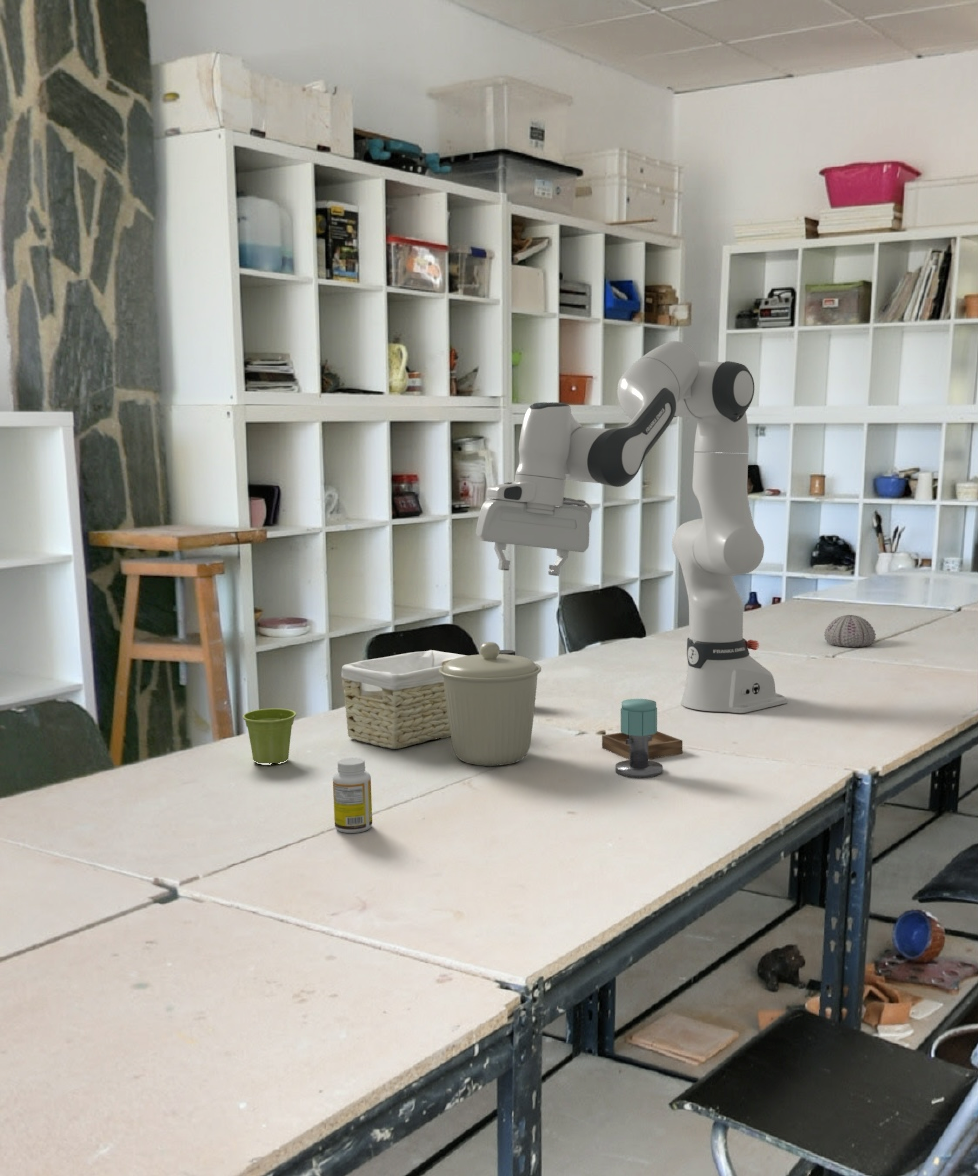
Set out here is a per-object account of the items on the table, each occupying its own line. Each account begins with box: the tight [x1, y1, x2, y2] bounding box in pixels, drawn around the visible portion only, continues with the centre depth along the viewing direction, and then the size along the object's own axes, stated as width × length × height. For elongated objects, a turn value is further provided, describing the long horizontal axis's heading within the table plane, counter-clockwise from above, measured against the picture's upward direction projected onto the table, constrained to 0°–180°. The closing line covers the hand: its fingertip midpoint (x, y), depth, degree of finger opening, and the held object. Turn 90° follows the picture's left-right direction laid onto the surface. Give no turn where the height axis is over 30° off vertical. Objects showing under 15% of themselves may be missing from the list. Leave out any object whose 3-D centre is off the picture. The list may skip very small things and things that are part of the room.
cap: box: [620, 698, 658, 736], centre depth 203 cm, size 6×6×5 cm
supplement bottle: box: [332, 757, 373, 834], centre depth 176 cm, size 6×6×10 cm
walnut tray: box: [601, 730, 683, 760], centre depth 217 cm, size 10×10×2 cm
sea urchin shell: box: [823, 614, 877, 648], centre depth 321 cm, size 13×14×8 cm
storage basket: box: [341, 649, 467, 750], centre depth 231 cm, size 24×16×15 cm
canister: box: [439, 641, 542, 767], centre depth 212 cm, size 18×18×21 cm
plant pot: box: [242, 708, 297, 764], centre depth 214 cm, size 9×9×9 cm
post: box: [614, 735, 664, 779], centre depth 203 cm, size 8×8×11 cm
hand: (528, 572), depth 210 cm, fingers open, 8 cm apart
